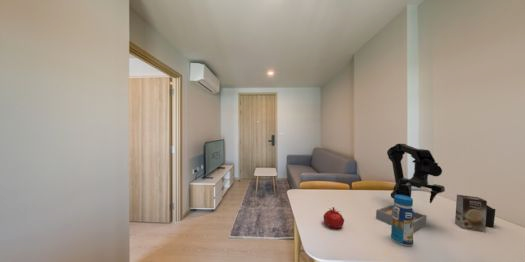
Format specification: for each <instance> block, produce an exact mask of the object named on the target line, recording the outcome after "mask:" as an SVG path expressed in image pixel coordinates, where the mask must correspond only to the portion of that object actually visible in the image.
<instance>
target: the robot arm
mask: <svg viewBox="0 0 525 262" xmlns="http://www.w3.org/2000/svg"><path fill="white" fill-rule="evenodd" d="M405 154H408V155H410V157H411V158H412V159H414V160H412V161H411V162H412V163H414V169H413V170H414V172H413V175H412V177H411V178H406V177H404V171H403V166H402V160H403V158H404V155H405ZM386 155H387V158H388V159H389V160H390V162H391V163H392V169H393V174H394V175H393V176H394V180H395V185H394V186H393V190H392V192H391V193H390V198H392V199H393V200H394V196H395V195H404V196H408V197H411V198H412V187H415V188H418V189H420V188H427V189H430V196H429V204H432V202H433V201H434V200H435V198H436V196H437V195H438V194H441V193H444V192H445V191H446V190H445V186H444V185H440V184H437V183H433V184H429V181H428V179H429V176H432V177H440V176H441V175H442V173H443V169H442V168H441V166H440V165H439V163H438V162H436V160H435V158H434V156H433V154H432V152H431V151H430V150H429V149H421V148H415V147H413V146H411V145H408V144H406V143H397V144H395V145H394V146H391V147H389V149H388V150H387V151H386ZM393 203H394V202H393ZM393 205H395V203H394V204H393Z"/></svg>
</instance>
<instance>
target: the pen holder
mask: <svg viewBox="0 0 525 262" xmlns="http://www.w3.org/2000/svg"><path fill="white" fill-rule="evenodd" d="M495 217H496V208H493V207H491V206H489V205H488V204H487V209H486V226H485V228H493V227H494V226H495V225H494V224H495V220H496V219H495Z"/></svg>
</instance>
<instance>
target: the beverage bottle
mask: <svg viewBox="0 0 525 262" xmlns="http://www.w3.org/2000/svg"><path fill="white" fill-rule="evenodd" d="M393 203H395V205H394V204H393V205H394V206H393V207H392V214H391V217H392V225H391V230H390V231H391V232H390V239H391V240H392V241H393V242H395V243H397V245H402V246H406V247H411V246H413V245H414V233H413V230H414V223H415V220H414V218H413V217H414V212H415V211H414V210H413V208H412V207H413V205H414V200H413V198H412V196H411V197H408V196H404V195H395V196H394V199H393Z"/></svg>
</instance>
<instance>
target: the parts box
mask: <svg viewBox="0 0 525 262" xmlns="http://www.w3.org/2000/svg"><path fill="white" fill-rule="evenodd" d="M393 206H394V204H389V205H386V206H383V207H381V208H377V209H376V210H375V211H376V212H375V213H376V215H375V219H376V220H378V221H381V222H383V223H386V224H388V225H391V226H392V217H391V214H392V207H393ZM413 218H414V220H415V223H414V230H413V232H414V233H416V232H417V231H419V230H421V229H422V228H424V227H426V226H427V215H425V214H422V213H418V212H416V211H414V217H413ZM418 229H419V230H418Z"/></svg>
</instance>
